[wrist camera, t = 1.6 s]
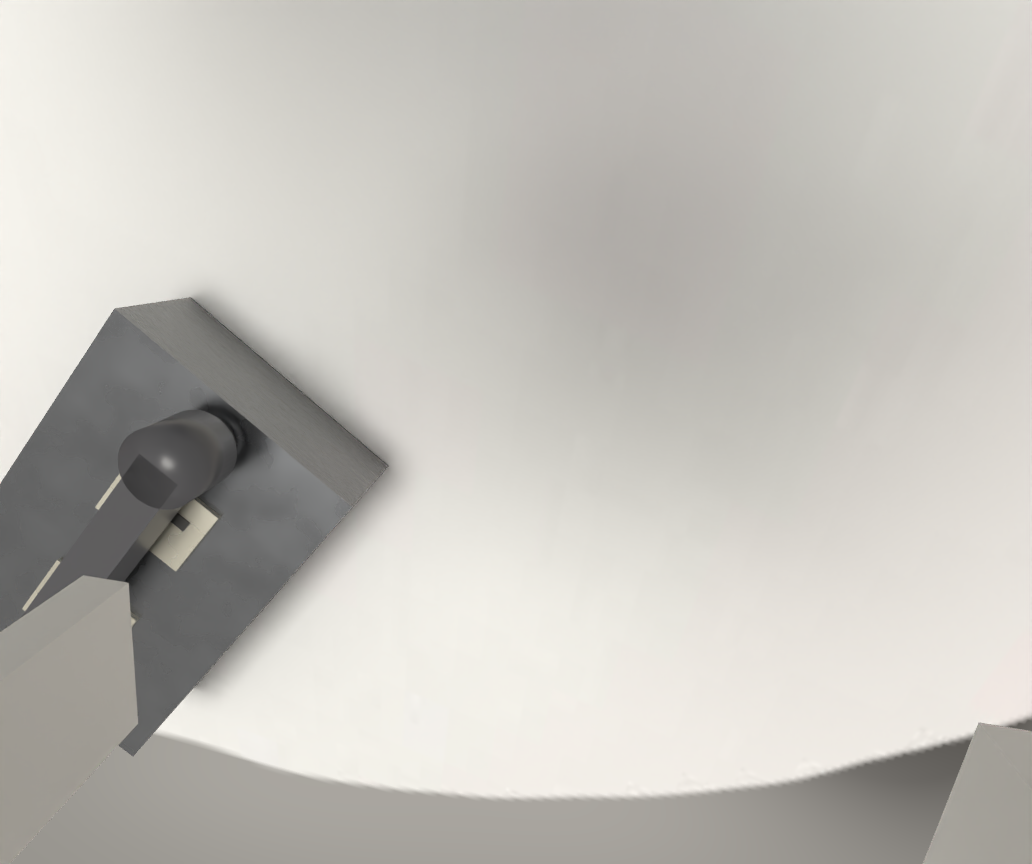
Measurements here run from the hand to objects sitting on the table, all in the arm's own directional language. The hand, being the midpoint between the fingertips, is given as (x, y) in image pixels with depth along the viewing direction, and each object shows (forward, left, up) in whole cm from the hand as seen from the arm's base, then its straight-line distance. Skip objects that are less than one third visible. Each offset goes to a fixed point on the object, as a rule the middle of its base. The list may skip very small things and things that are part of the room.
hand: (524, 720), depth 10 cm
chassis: (-11, -21, -26) cm, 35 cm away
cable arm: (-11, -21, -19) cm, 30 cm away
